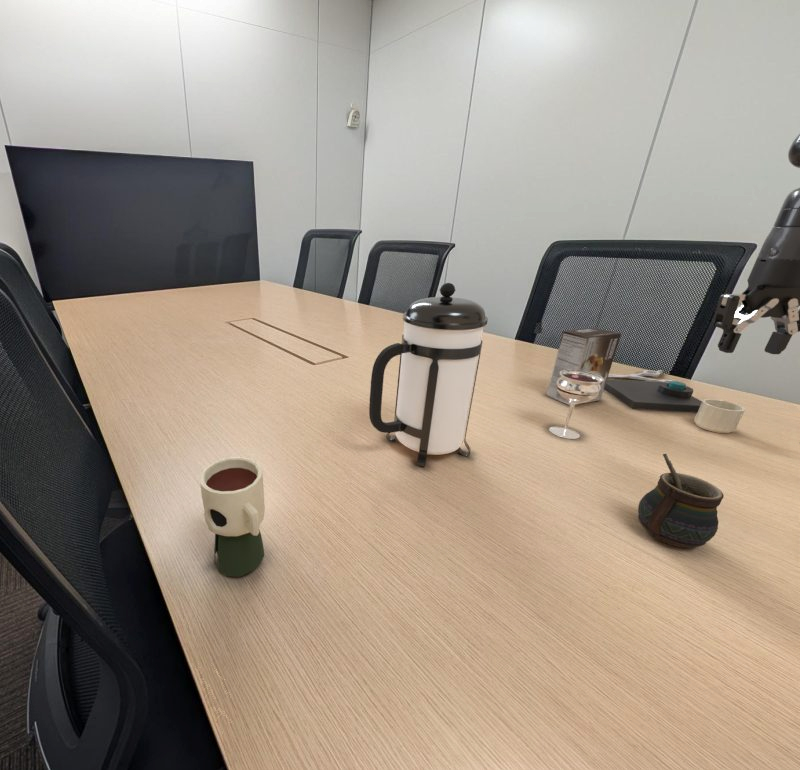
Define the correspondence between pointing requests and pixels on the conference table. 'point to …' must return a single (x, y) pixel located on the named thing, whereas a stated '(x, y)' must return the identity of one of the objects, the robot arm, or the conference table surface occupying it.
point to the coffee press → (432, 374)
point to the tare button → (677, 385)
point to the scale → (653, 395)
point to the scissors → (645, 373)
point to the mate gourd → (681, 509)
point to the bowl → (719, 415)
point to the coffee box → (584, 356)
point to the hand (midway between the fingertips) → (748, 352)
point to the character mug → (234, 512)
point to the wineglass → (576, 395)
